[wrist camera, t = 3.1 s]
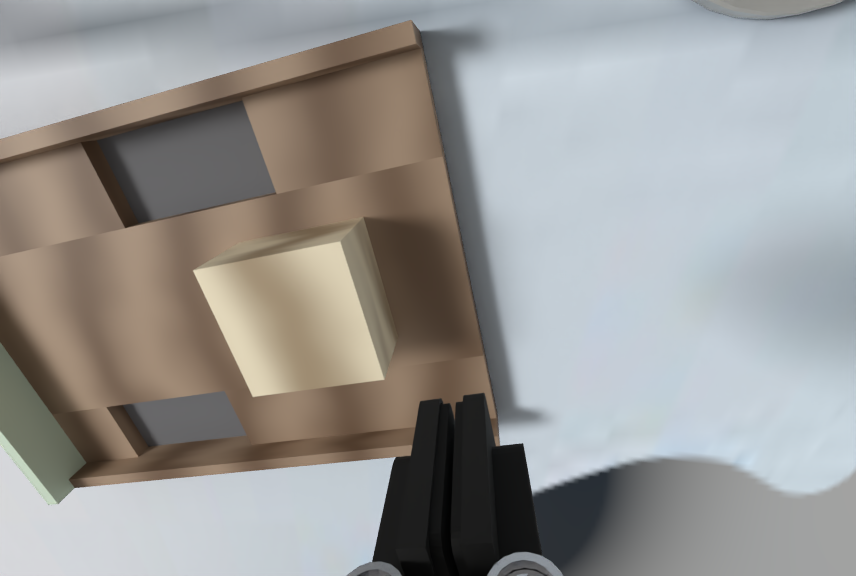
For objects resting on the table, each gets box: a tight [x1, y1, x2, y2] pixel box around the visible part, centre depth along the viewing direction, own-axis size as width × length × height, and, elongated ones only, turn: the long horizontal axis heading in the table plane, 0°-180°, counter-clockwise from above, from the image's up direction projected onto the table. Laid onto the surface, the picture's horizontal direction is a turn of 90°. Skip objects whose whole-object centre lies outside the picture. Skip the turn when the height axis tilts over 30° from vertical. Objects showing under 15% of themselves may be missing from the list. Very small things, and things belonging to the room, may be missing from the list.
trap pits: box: [97, 100, 276, 447], centre depth 25 cm, size 17×20×1 cm
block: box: [193, 217, 398, 397], centre depth 21 cm, size 7×7×4 cm
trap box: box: [0, 20, 500, 488], centre depth 24 cm, size 30×22×3 cm
